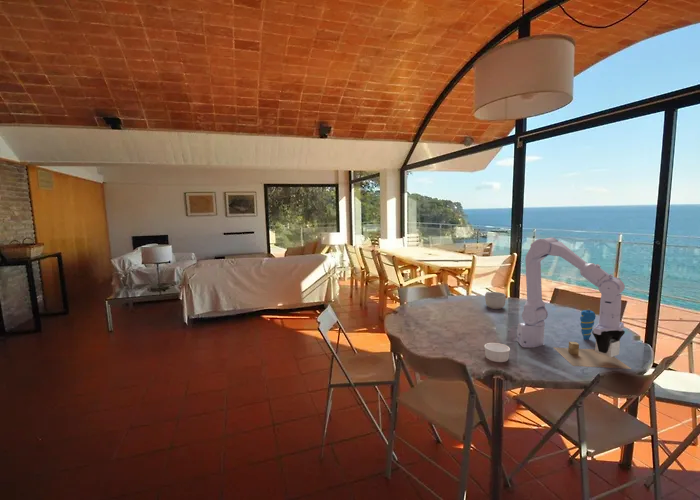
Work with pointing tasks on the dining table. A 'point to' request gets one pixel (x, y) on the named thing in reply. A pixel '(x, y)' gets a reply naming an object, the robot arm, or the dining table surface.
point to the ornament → (587, 323)
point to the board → (589, 357)
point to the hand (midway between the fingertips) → (607, 350)
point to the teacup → (495, 300)
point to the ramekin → (496, 352)
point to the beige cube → (610, 348)
